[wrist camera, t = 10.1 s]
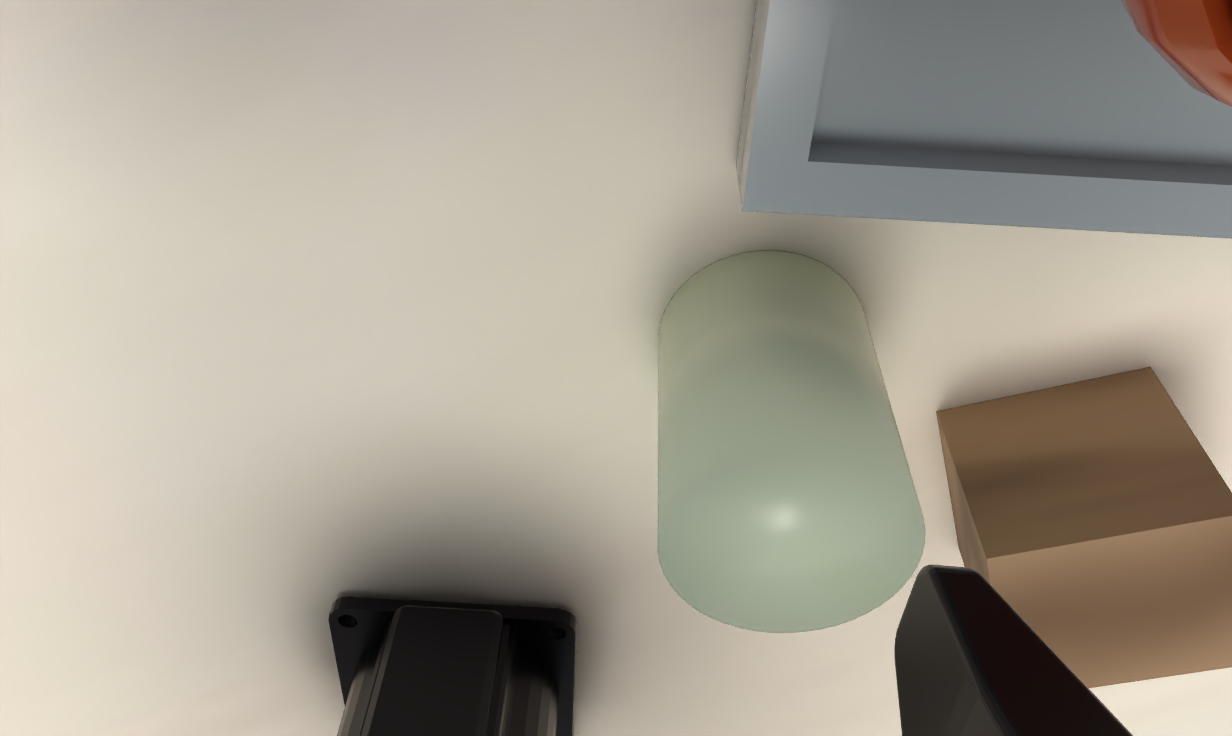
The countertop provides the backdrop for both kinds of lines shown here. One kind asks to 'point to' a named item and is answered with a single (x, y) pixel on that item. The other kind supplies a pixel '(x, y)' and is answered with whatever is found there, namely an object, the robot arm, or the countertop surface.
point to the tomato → (1190, 40)
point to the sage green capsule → (779, 450)
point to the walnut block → (1097, 524)
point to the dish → (979, 118)
